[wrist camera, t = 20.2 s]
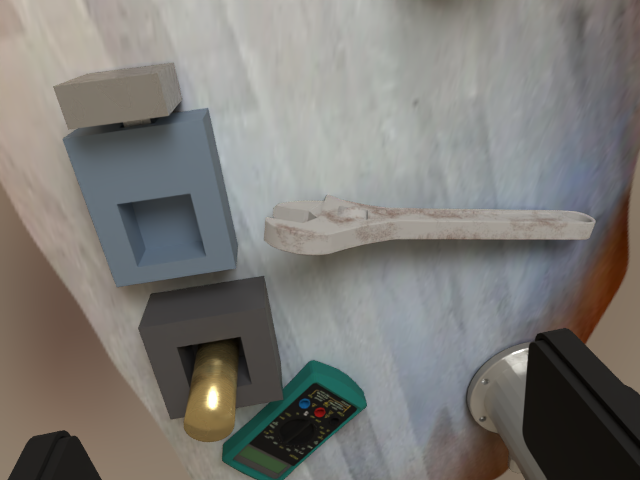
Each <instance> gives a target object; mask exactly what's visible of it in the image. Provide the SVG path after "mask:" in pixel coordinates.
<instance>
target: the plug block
mask: <svg viewBox="0 0 640 480" xmlns="http://www.w3.org/2000/svg"><path fill="white" fill-rule="evenodd" d="M53 88H54V90H55V93H56V96H57V99H58V102H59V104H60V107H61V110H62V113H63V116H64V118H65V121H66V124H67V127H68V130H69V129H76V128H83V127H91V126H98V125H105V124H112V123H120V122H123V124H124V127H131V126H138V125H145V124H153V123H155V118H156V117H163V116H169V115H170V114H171V112H172V111H173V110H174V109H175V108H176V106H177V105H178V104H179V103H180V101H181V100H182V95H181V91H180V87H179V82H178V78H177V74H176V70H175V66H174V63H167V64H159V65H151V66H144V67H136V68H128V69H121V70H113V71H106V72H98V73H90V74H85V75H83V76H80V77H77V78H75V79H72V80H69V81H67V82H64V83H61V84H59V85H56V86H53Z"/></svg>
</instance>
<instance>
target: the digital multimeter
mask: <svg viewBox="0 0 640 480" xmlns="http://www.w3.org/2000/svg"><path fill="white" fill-rule="evenodd" d="M309 386H310V387H309ZM295 399H296V400H295ZM294 400H295V401H294ZM293 401H294V402H293ZM366 406H367V403H366V399H365V396H364V392H363V391H362V389H361V388H360V387H359V386H358V385H357V384H356V383H355V382H354V381H353V380H352V379H351V378H350V377H349V376H348V375H346V374H345V373H343V372H342V371H340V370H338V369H336V368H334V367H331V366H329V365H326V364H323V363H320V362H318V361H315V360H313V361H310V362H308V364H307V365H306V366H305V367H304V368H303V369H302V370H301V371H300V372H299V373H298V374H297V375H296V376H295V377H294V379H293V380H292V381H291V382H290V383H289V384H288V385H287V386H286V387H285V388H284V389H283V400H278V401H273V402H270V403H269V404H268V405H266V406H265V407H264V408H263V409H262V410H261V411H260V412H259V413H258V414H257V415H256V416H255V417H254V418H253V419H252V420H251V421H249V422H248V423H247V424H246V425H245V426H244V427H242V428H241V429H240V430H239V431H238V432H237V433H235V434H234V435H233V436H232V437H231V438H230V439H229V440H227V441H226V442H225V443H224V444H223V453H222V461H223V462H224V463H226V464H228V465H229V466H231V467H233V468H234V469H236V470H238V471H240V472H242V473H244V474H246V475H248V476H250V477H252V478H254V479H257V480H284V479H285V478H286V477H287V476H288V475H289V474H290V473H291V472H292V471H293V470H294V469H295V468H296V467H297V466H298V465H300V464H301V463H302V462H303V461H304V460H305V459H306V458H307V457H308V456H310V455H311V454H312V453H313V452H314V451H315V450H316V449H317V448H318V447H320V446H321V445H322V444H323V443H324V442H325V441H326V440H328V439H329V438H330V437H331V436H332V435H333V434H335V433H336V432H337V431H338V430H339V429H340V428H342V427H343V426H344V425H345V424H346V423H348V422H349V421H350V420H351V419H352V418H354V417H355V416H356V415H357V414H358V413H360V412H361V411H362V410H363V409H365V408H366ZM280 413H281V414H280ZM279 414H280V415H279ZM278 415H279V416H278ZM277 416H278V417H277ZM276 417H277V418H276ZM314 424H315V425H314ZM263 429H264V430H263ZM262 430H263V431H262ZM261 431H262V432H261ZM260 432H261V433H260ZM288 445H289V446H288Z"/></svg>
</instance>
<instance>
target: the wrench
mask: <svg viewBox="0 0 640 480" xmlns="http://www.w3.org/2000/svg"><path fill="white" fill-rule="evenodd" d="M273 216H274V217H275V218H269V217H266V220H265V233H264V241H266V242H267V243H268V244H270V245H271V246H273V247H275V248H278V249H280V250H283V251H287V252H292V253H296V254H302V255H325V254H331V253H334V252H337V251H341V250H345V249H349V248H353V247H356V246H360V245H365V244H371V243H376V242H382V241H388V240H394V239H506V240H585V239H588V238H589V237H590V235H591V232H592V230H593V227H594V225H595V222H596V221H595V220H594V218H592V217H591V216H588V215H586V214H583V213H580V212H576V211H561V210H492V209H417V208H385V207H378V206H370V205H364V204H359V203H355V202H350V201H345V200H341V199H338V198H336V197H333V196H330V195H326V198H325V201H294V202H286V203H279V204H277V205H276V206H275V207H274V208H273Z"/></svg>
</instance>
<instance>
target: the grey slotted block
mask: <svg viewBox="0 0 640 480" xmlns="http://www.w3.org/2000/svg"><path fill="white" fill-rule="evenodd" d="M138 329H139V332H140V335H141V338H142V340H143V343H144V346H145V349H146V352H147V354H148V357H149V360H150V363H151V365H152V368H153V371H154V374H155V377H156V379H157V382H158V385H159V388H160V391H161V393H162V396H163V399H164V402H165V405H166V407H167V410H168V413H169V416H170V419H176V418H182V417H185V413H186V408H187V402H188V397H189V392H190V386H191V381H192V375H193V370H194V365H195V359H196V354H197V348H198V344H200V343H206V342H212V341H218V340H224V339H230V338H236V337H240V346H239V361H238V377H237V392H236V408H239V407H244V406H250V405H256V404H261V403H267V402H273V401H278V400H283V387H282V373H281V361H280V356H279V351H278V345H277V340H276V335H275V330H274V325H273V320H272V314H271V309H270V304H269V299H268V294H267V289H266V284H265V278H264V276H261V277H254V278H248V279H242V280H236V281H229V282H223V283H217V284H211V285H204V286H198V287H192V288H186V289H179V290H173V291H167V292H161V293H154V294H151V295H150V298H149V301H148V304H147V306H146V309H145V312H144V314H143V317H142V320H141V323H140V325H139V328H138Z"/></svg>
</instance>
